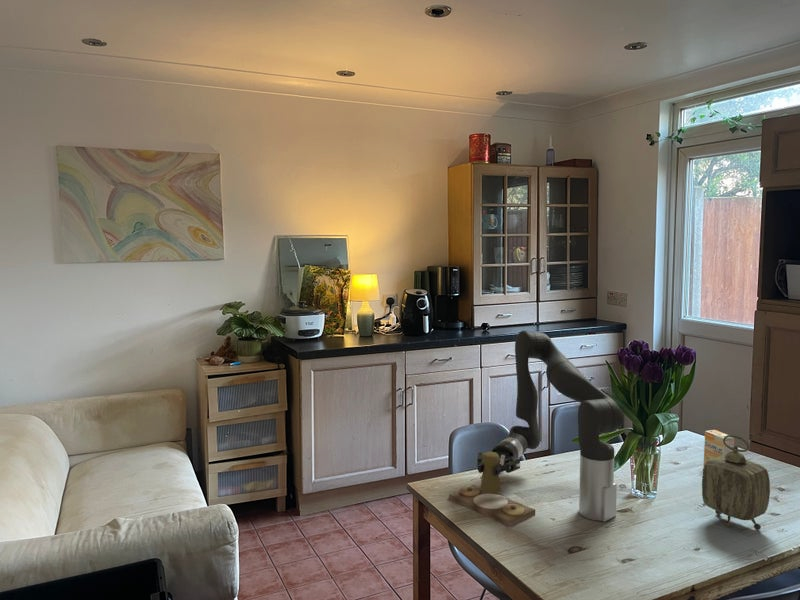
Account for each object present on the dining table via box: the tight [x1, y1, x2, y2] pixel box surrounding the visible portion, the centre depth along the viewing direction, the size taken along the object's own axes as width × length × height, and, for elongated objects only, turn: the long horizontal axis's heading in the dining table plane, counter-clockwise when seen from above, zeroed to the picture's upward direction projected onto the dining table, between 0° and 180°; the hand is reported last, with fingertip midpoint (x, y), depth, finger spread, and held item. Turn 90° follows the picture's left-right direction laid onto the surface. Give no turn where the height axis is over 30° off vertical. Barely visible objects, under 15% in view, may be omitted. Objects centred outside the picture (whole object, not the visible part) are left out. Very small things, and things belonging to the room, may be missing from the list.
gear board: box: [448, 484, 536, 527], centre depth 175 cm, size 24×11×3 cm, turn 40°
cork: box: [480, 451, 502, 494], centre depth 175 cm, size 6×6×11 cm
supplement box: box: [702, 429, 735, 468], centre depth 201 cm, size 8×5×13 cm, turn 17°
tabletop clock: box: [701, 434, 771, 531], centre depth 162 cm, size 14×9×25 cm, turn 32°
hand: (487, 471), depth 172 cm, fingers closed on cork, 4 cm apart
